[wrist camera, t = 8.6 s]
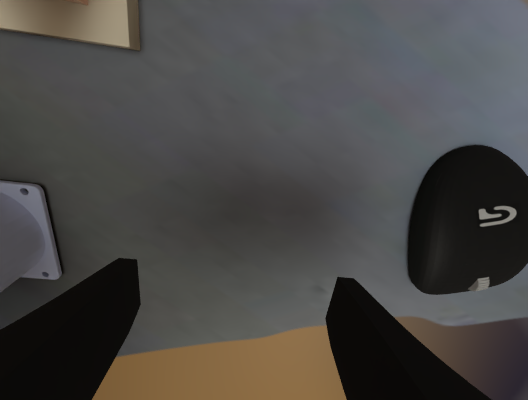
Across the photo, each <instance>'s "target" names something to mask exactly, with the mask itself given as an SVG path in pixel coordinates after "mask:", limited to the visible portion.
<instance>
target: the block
mask: <svg viewBox="0 0 528 400" xmlns="http://www.w3.org/2000/svg"><path fill="white" fill-rule="evenodd" d="M64 1H68V2H73V3H78V4H82V5H87V6H88V0H64Z"/></svg>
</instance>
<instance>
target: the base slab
mask: <svg viewBox="0 0 528 400" xmlns="http://www.w3.org/2000/svg"><path fill="white" fill-rule="evenodd" d="M0 30H7V31H13V32H20V33H26V34H33V35H39V36H46V37H52V38H59V39H66V40H72V41H79V42H85V43H92V44H98V45H105V46H111V47H118V48H125V49H131V50H138V51H140V34H139V12H138V0H88V6H87V5H82V4H78V3H73V2H68V1H64V0H0Z"/></svg>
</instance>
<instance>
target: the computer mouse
mask: <svg viewBox="0 0 528 400" xmlns="http://www.w3.org/2000/svg"><path fill="white" fill-rule="evenodd" d="M408 263H409V276H410V279H411V282H412V283H413V284H414V285H415V287H416V288H417V289H419V290H420V291H421V292H423V293H426V294H435V295H439V294H451V293H458V292H466V291H478V290H485V289H487V288H488V287H492V286H496V285H499V284H501V283H504V282H506V281H508V280H510V279H511V278H513V277H514V276H515V275H517V274H518V273H519V272H520V271H521V270H522V269H523V268H524V267H525V266H526V264H527V263H528V176H527V175H526V174H525V172H524V171H523V170H522V169H521V168H520V167H519V166H518V165H517V164H516V163H515V162H514V161H513V160H512V159H510V158H509V157H508V156H507V155H505V154H503V153H502V152H500V151H499V150H497V149H494V148H492V147H488V146H482V145H474V146H467V147H462V148H459V149H457V150H454V151H451V152H449V153H447V154H446V155H444V156H443V157H441V158H440V159H439V160H438V161H436V162H435V164H434V165H433V166H432V167H431V168H430V170H429V171H428V173H427V175H426V176H425V178H424V180H423V183H422V185H421V187H420V190H419V193H418V196H417V199H416V202H415V206H414V210H413V214H412V220H411V226H410V236H409V260H408Z"/></svg>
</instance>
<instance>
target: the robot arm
mask: <svg viewBox="0 0 528 400" xmlns="http://www.w3.org/2000/svg"><path fill="white" fill-rule="evenodd" d="M25 189H27V190H28V192H29V193H28V192H27V191H26V190H25ZM61 275H62V271H61V267H60V262H59V258H58V253H57V249H56V244H55V240H54V235H53V231H52V226H51V222H50V217H49V213H48V208H47V204H46V199H45V195H44V191H43V189H42V188H41V186H39V185H37V184H31V183H21V182H12V181H2V180H0V293H1V292H2V291H3V290H4V289H6V288H7V287H8V286H9V285H11V284H12V283H13V282H14V281H16V280H17V279H18V278H20V277H25V278H38V279H50V280H56V279H58V278H59V277H60V276H61ZM140 305H141V303H140V291H139V278H138V266H137V260H136V259H124V258H118V259H117V260H115V261H113V262H112V263H110V264H108V265H107V266H105V267H104V268H102V269H101V270H99V271H97V272H96V273H94V274H93V275H91V276H90V277H88V278H87V279H85V280H83V281H82V282H80V283H79V284H77V285H76V286H74V287H72V288H71V289H69V290H68V291H66V292H64V293H63V294H61V295H60V296H58V297H56V298H55V299H53V300H51V301H50V302H48V303H46V304H44V305H43V306H41V307H39V308H38V309H36V310H34V311H33V312H31V313H29V314H27V315H26V316H24V317H22V318H21V319H19V320H17V321H15V322H14V323H12V324H10V325H8V326H6V327H5V328H3V329H1V330H0V400H92V398H93V396H94V395H95V393H96V391H97V389H98V388H99V386H100V384H101V382H102V380H103V379H104V377H105V375H106V373H107V371H108V370H109V368H110V366H111V364H112V363H113V361H114V359H115V357H116V355H117V354H118V352H119V350H120V348H121V346H122V345H123V343H124V341H125V339H126V337H127V335H128V333H129V331H130V329H131V327H132V324H133V322H134V320H135V317H136V315H137V312H138V310H139V307H140ZM326 324H327V330H328V336H329V341H330V346H331V349H332V353H333V356H334V359H335V363H336V366H337V370H338V373H339V376H340V379H341V383H342V386H343V389H344V392H345V395H346V399H347V400H491V399H490V398H489V397H487V396H486V395H484V394H483V393H482V392H481V391H479V390H478V389H477V388H475V387H474V386H473V385H471V384H470V383H469V382H468V381H466V380H465V379H464V378H463V377H461V376H460V375H459V374H458V373H456V372H455V371H454V370H452V369H451V368H450V367H449V366H447V365H446V364H445V363H444V362H443V361H441V360H440V359H439V358H438V357H437V356H435V355H434V354H433V353H432V352H431V351H430V350H429V349H428V348H427V347H425V346H424V345H423V344H422V343H421V342H420V341H419V340H417V339H416V338H415V337H414V336H413V335H412V334H411V333H410V332H408V330H406V329H405V328H404V327H403V326H402V325H401V324H400V323H399V322H398V321H397V320H396V319H395V318H394V317H393V316H392V315H391V314H390V313H389V312H388V311H387V310H386V309H385V308H384V307H383V306H382V305H381V304H380V303H378V302H377V301H376V300H375V299H374V298H373V297H372V296H371V295H370V294H369V293H368V292H367V291H366V290H365V289H364V288H363V287H362V286H361V285H360V284H359V283H358V282H357V281H356V280H355V279H354V278H343V277H337V281H336V284H335V288H334V291H333V294H332V298H331V301H330V305H329V308H328V311H327V315H326Z"/></svg>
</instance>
